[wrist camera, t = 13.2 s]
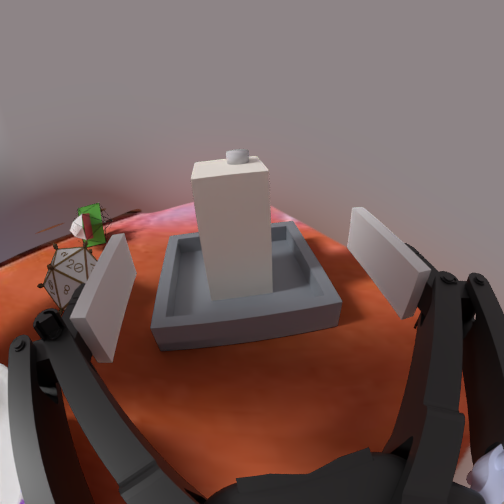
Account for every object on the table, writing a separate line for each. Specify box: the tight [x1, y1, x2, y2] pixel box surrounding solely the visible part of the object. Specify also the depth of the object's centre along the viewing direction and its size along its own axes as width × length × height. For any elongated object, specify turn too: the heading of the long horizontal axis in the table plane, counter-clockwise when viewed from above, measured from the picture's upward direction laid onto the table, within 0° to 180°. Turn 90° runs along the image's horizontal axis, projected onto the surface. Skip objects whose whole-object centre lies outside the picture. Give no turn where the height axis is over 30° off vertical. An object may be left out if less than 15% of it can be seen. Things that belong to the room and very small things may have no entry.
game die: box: [37, 240, 97, 316], centre depth 25 cm, size 9×8×10 cm
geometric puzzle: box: [70, 203, 113, 247], centre depth 39 cm, size 7×7×8 cm
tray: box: [150, 221, 342, 351], centre depth 29 cm, size 16×16×3 cm
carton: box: [191, 149, 273, 301], centre depth 26 cm, size 6×6×13 cm
